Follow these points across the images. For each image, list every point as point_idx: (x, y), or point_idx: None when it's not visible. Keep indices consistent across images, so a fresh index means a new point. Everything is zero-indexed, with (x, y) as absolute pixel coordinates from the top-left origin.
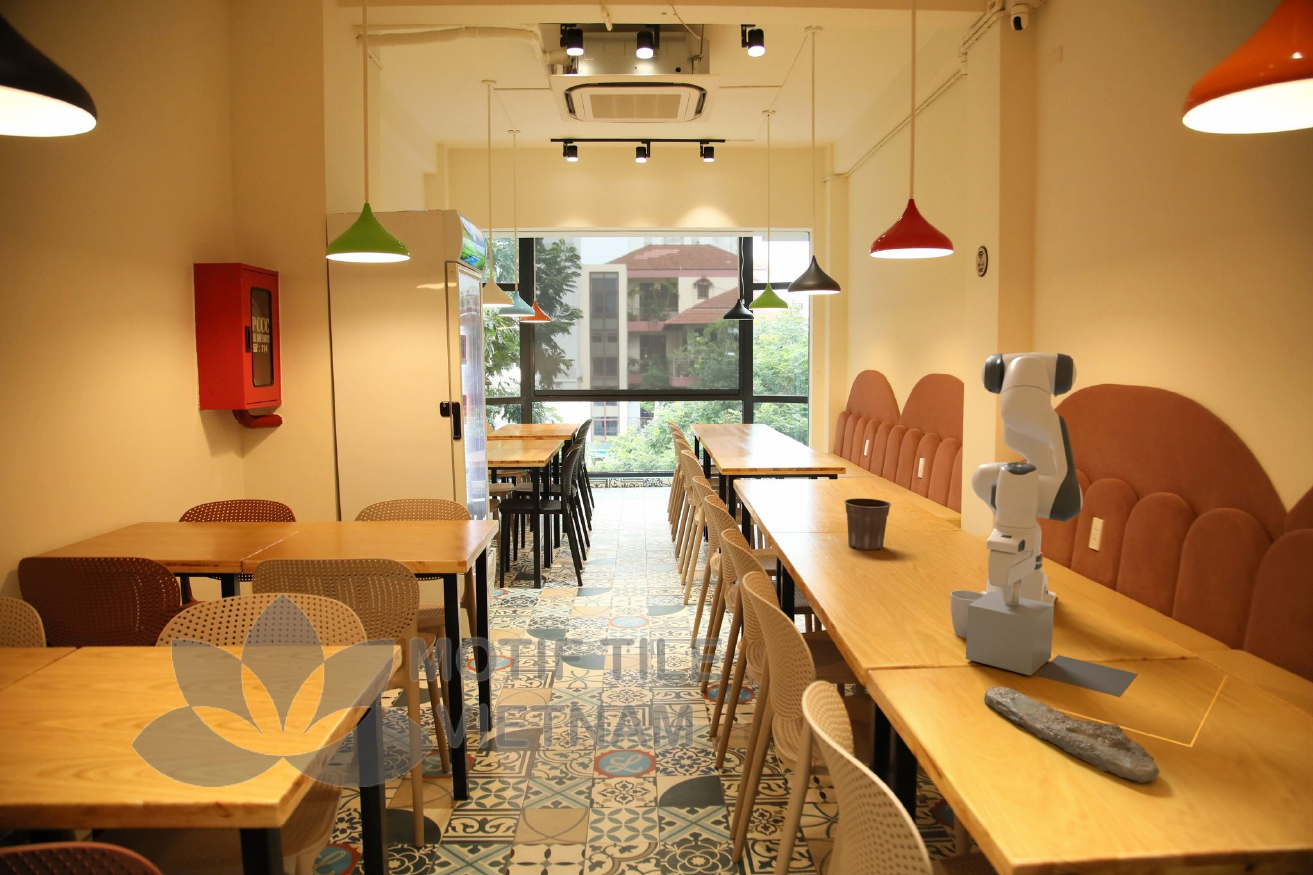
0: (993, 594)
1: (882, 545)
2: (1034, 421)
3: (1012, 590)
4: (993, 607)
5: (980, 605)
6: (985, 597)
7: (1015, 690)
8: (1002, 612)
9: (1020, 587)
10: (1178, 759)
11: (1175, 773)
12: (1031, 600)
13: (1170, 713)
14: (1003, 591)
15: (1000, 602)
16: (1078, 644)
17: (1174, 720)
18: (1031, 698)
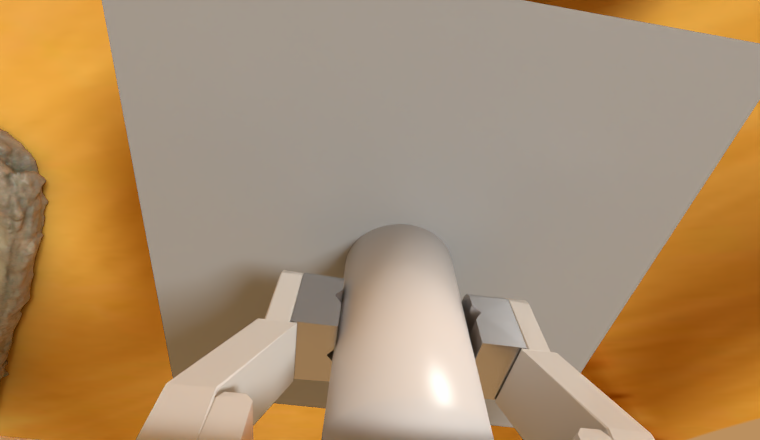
0: (672, 95)
1: None
2: None
3: (259, 413)
4: (218, 174)
5: (187, 57)
6: (515, 43)
7: (11, 218)
8: (151, 248)
9: (511, 414)
10: (86, 435)
11: (26, 433)
12: (578, 347)
13: (288, 428)
14: (243, 332)
15: (410, 196)
16: (696, 281)
17: (257, 432)
18: (3, 261)
